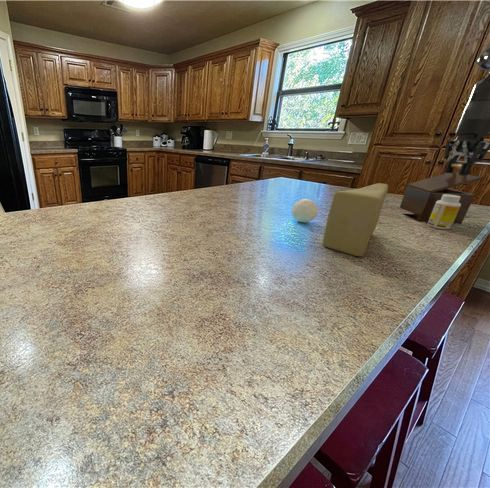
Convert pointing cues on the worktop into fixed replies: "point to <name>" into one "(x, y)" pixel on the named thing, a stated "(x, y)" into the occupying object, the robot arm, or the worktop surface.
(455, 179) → the lid
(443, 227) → the supplement bottle
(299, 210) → the ball
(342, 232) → the cheese
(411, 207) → the chest
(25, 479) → the worktop surface
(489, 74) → the robot arm
